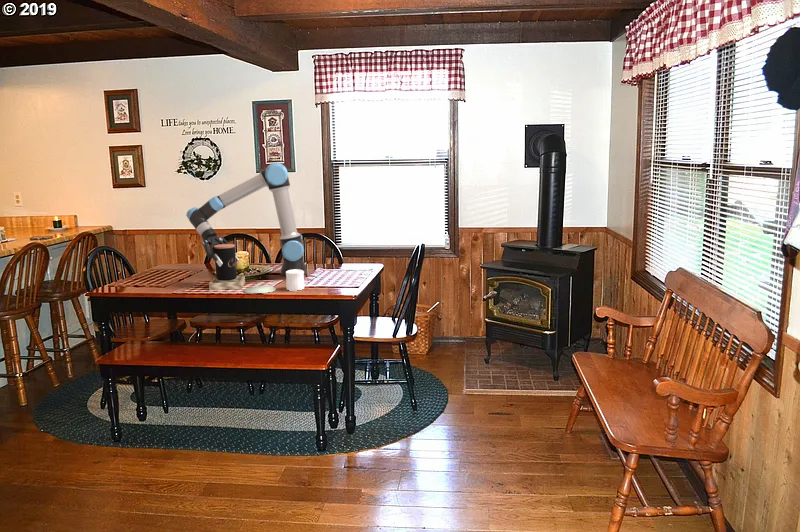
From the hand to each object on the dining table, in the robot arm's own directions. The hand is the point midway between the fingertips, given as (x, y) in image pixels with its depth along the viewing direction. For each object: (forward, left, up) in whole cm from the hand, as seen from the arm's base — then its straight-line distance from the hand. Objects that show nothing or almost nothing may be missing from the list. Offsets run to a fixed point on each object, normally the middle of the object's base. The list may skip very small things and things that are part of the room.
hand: (229, 263), depth 345 cm
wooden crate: (+2, -2, -13) cm, 13 cm away
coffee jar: (+2, -2, -9) cm, 9 cm away
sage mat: (-16, +12, -13) cm, 24 cm away
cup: (-34, +13, -13) cm, 39 cm away
